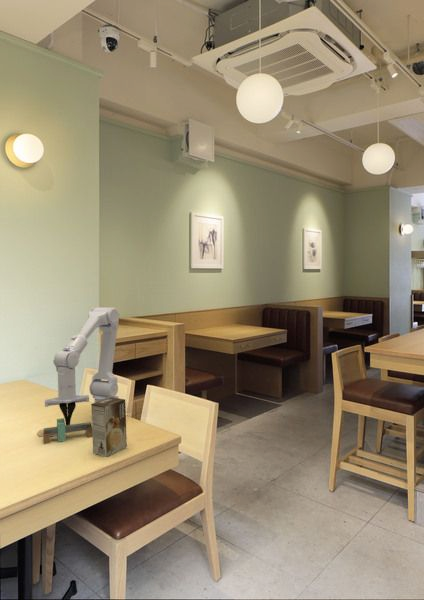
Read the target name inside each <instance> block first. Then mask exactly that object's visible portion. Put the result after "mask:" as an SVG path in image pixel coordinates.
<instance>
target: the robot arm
mask: <svg viewBox="0 0 424 600" xmlns="http://www.w3.org/2000/svg"><path fill="white" fill-rule="evenodd" d="M87 316H88V317H87V320H86V322H85V323H84V325H83V327H82V329H80V331H79V333H78V334H73V335H72V336H71V337H70V339H69V341H68V342H67V344H66V345H65V346H64V347H63V349H62V350H60V351H58V352H57V353H56V354H55V356H54V358H53V365H54V366H55V371H56V373H57V389H58V390H57V392H58V394H57V397H55V398H54V397H53V398H49V399H48V398H47V399H44V407H45V408H46V407H47V408H48V407H50V406H51V407H52V406H59V410H60V411H61V413H62V416H63V418H64V420H65V425H71V420H72V416H73V413H74V412H75V409H76V405H77V403H84V402H85V403H89V402H90V395H92V398H93V399H94V400H93V401H94V403H96V402H99V401H102V400H105V399H108V398H111V397H113V398H119V399H120V397H119V396H117V394H118V390H119V386H118V377H117V376H116V375H115V374H114V373H113V368H114V360H115V358H114V357H115V351H116V350H115V348H116V341H117V333H118V328H119V320H120V313H119V311H118V309H117V308H116V307H114V306H112V307H99V306H98V307H96V306H93V307H92V308H91V309H90V311H89V312H88V315H87ZM97 328H99V329H100V331H101V332H102V337H101V345H100V353H99V361H98V370H97V371H98V372H96V373H95V374H93V376H92V377H91V382H90V384H89V389H88V390H89V393H90V395H89V394H87V395H77V391H76V385H77V384H76V366H78V365H79V361H80V357H81V354H82V352H84V350H85V348H86V347H87V345H88V339H89V338H90V336H91V335H92V334H93V333H94V331H96V329H97Z"/></svg>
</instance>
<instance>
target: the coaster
mask: <svg viewBox="0 0 424 600" xmlns="http://www.w3.org/2000/svg"><path fill="white" fill-rule="evenodd" d="M43 430H44V428H42V429H40V430H38V431H37V432H36V435H37V437H39V438H43ZM52 437H57V434H55V435H50V438H52Z"/></svg>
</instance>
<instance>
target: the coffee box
mask: <svg viewBox="0 0 424 600" xmlns="http://www.w3.org/2000/svg"><path fill="white" fill-rule="evenodd" d="M126 414H127V413H126V399H123V398H120V397H119V398H113V397H111V398H108V399H105V400H102V401H99V402H96V403H95V402H93V403H91V425H92V435H93V437H92V453H93V454H95V455H99V456H102V457H106V458H107V457H110V456H112V455H114V454H116V453H119V451H122V450H123V449H126V448H128V445H127V444H128V443H127V418H126V417H127V415H126Z"/></svg>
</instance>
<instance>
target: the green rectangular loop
mask: <svg viewBox="0 0 424 600" xmlns="http://www.w3.org/2000/svg"><path fill="white" fill-rule="evenodd" d="M65 425H66V422H65V418H64V417H62V418H56V427H58V434H57V436H56V437H57V441H58V442H60V443H61V442H65V441H67V438H66V434H67V433H65Z"/></svg>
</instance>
